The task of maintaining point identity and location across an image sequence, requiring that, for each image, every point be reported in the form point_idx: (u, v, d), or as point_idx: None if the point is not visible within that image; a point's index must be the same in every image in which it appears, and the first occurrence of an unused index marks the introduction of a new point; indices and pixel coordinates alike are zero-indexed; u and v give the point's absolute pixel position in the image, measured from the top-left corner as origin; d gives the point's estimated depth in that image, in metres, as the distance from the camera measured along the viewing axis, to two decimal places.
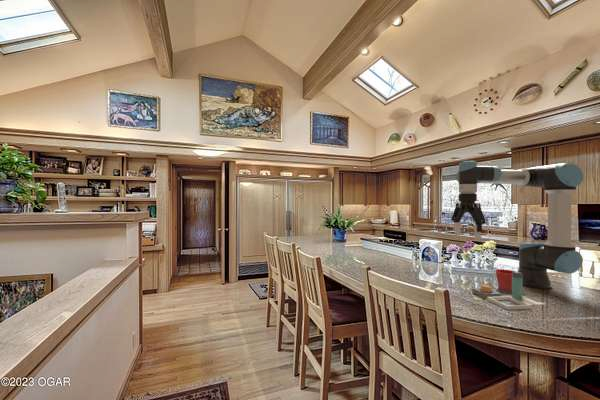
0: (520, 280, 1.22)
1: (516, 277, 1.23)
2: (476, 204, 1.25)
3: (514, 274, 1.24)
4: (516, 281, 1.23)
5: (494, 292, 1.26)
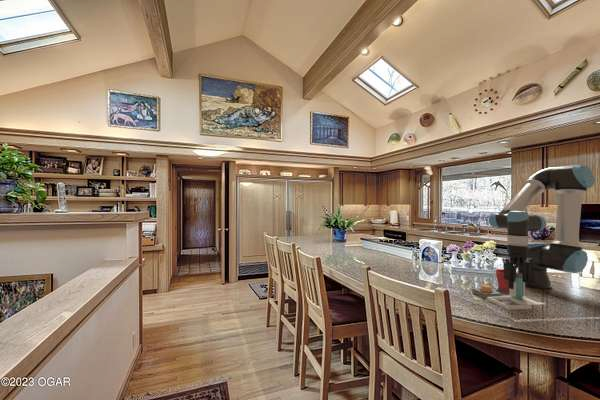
0: (520, 280, 1.22)
1: (516, 277, 1.23)
2: (503, 259, 1.24)
3: None
4: (516, 281, 1.23)
5: (494, 292, 1.26)
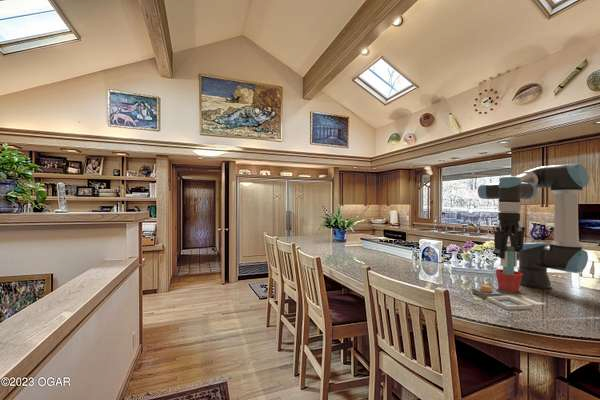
0: (512, 254, 1.16)
1: (507, 251, 1.16)
2: (494, 228, 1.17)
3: None
4: (507, 255, 1.16)
5: (494, 292, 1.26)
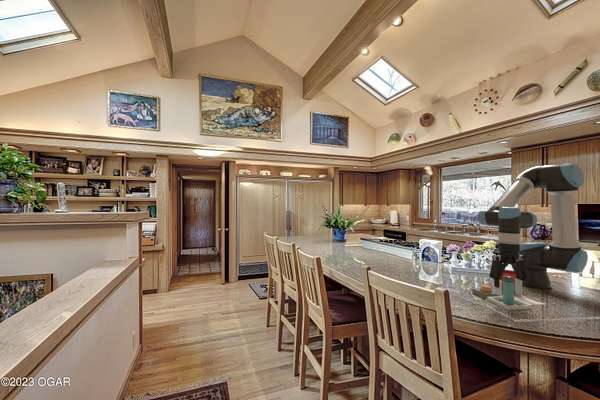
0: (512, 285, 1.16)
1: (507, 282, 1.16)
2: (493, 256, 1.17)
3: (505, 279, 1.17)
4: (507, 286, 1.16)
5: (494, 292, 1.26)
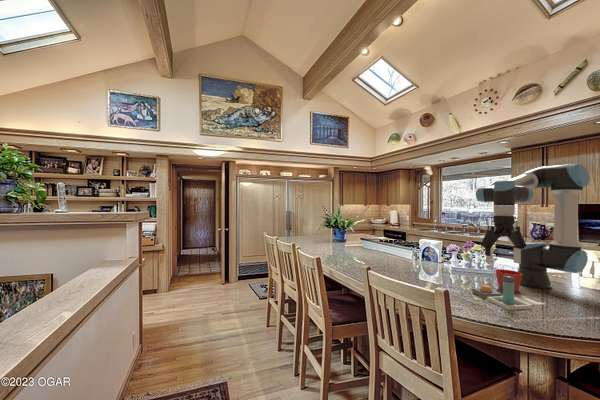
0: (512, 285, 1.16)
1: (507, 282, 1.16)
2: (489, 226, 1.20)
3: (505, 279, 1.17)
4: (507, 286, 1.16)
5: (494, 292, 1.26)
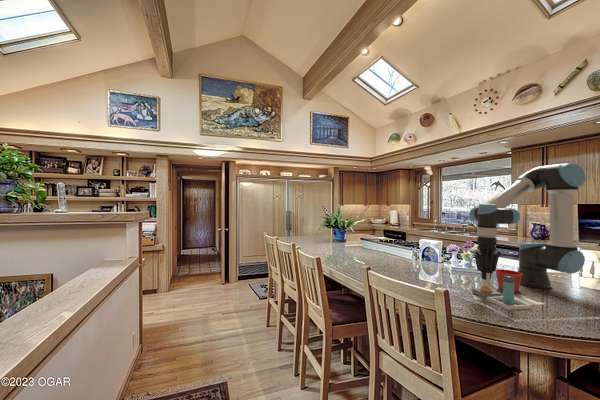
0: (512, 285, 1.16)
1: (507, 282, 1.16)
2: (473, 252, 1.28)
3: (505, 279, 1.17)
4: (507, 286, 1.16)
5: (494, 292, 1.26)
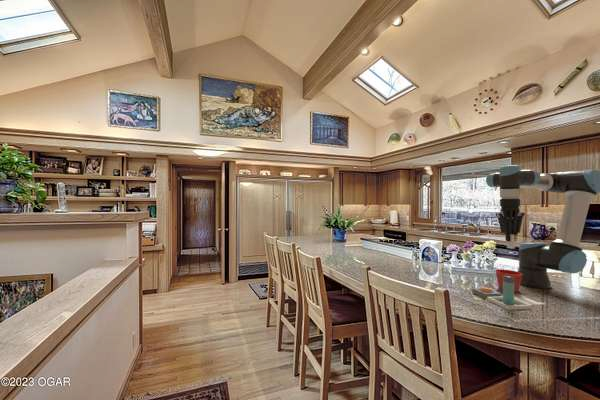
0: (512, 285, 1.16)
1: (507, 282, 1.16)
2: (497, 214, 1.28)
3: (505, 279, 1.17)
4: (507, 286, 1.16)
5: (494, 292, 1.26)
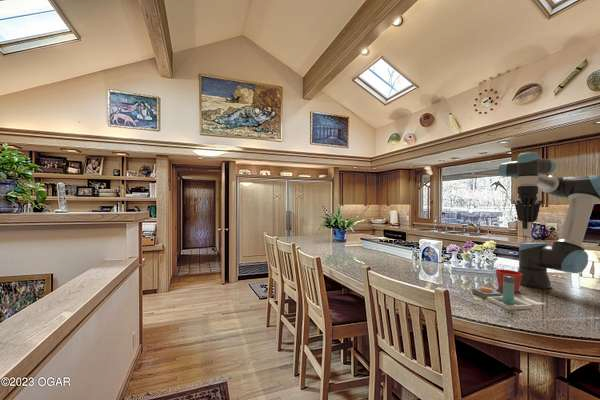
0: (512, 285, 1.16)
1: (507, 282, 1.16)
2: (514, 201, 1.27)
3: (505, 279, 1.17)
4: (507, 286, 1.16)
5: (494, 292, 1.26)
